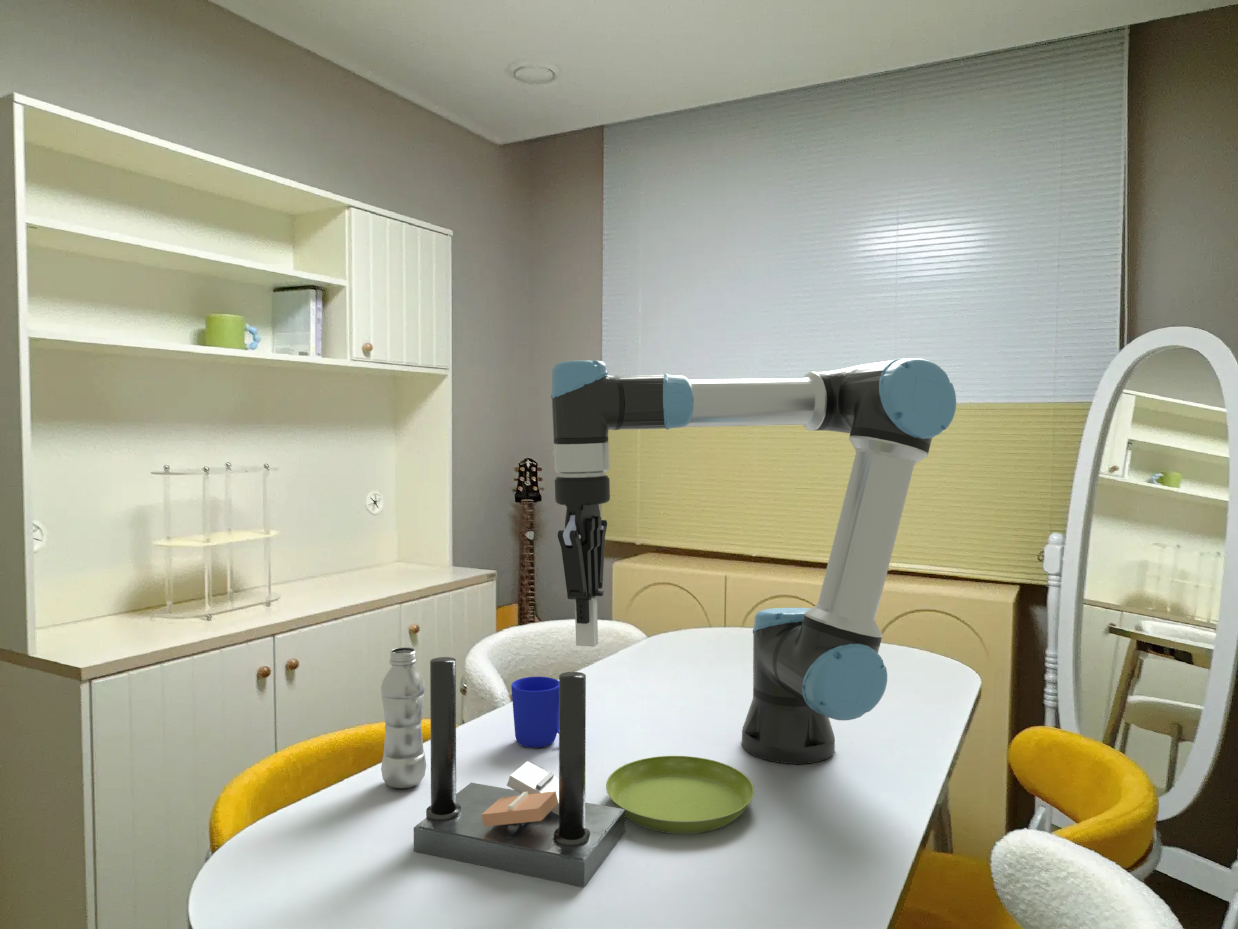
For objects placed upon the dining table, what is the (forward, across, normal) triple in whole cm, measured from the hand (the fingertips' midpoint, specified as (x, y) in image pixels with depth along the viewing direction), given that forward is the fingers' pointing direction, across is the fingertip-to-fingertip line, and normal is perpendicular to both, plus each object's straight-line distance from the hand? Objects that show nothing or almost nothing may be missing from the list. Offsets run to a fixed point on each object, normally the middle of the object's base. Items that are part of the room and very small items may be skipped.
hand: (587, 644), depth 114 cm
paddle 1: (+17, +8, -4) cm, 19 cm away
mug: (+23, -19, -15) cm, 34 cm away
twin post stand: (+23, +12, -5) cm, 26 cm away
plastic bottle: (+22, +3, -29) cm, 36 cm away
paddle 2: (+17, +15, -4) cm, 23 cm away
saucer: (+24, -4, +11) cm, 27 cm away
